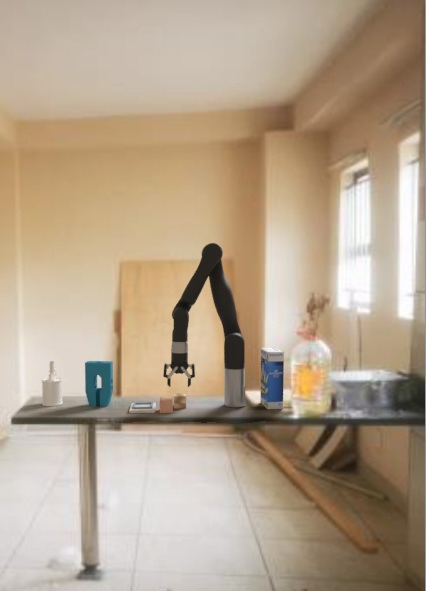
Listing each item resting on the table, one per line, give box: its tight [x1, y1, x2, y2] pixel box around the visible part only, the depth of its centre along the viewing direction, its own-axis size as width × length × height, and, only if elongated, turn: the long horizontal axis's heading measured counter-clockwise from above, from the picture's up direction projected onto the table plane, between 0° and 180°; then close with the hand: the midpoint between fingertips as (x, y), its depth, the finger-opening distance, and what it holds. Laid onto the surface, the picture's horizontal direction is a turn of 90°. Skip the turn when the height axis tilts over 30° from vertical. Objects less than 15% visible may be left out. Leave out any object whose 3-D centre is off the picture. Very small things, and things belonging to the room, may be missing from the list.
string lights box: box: [260, 347, 285, 410], centre depth 238 cm, size 13×8×26 cm, turn 10°
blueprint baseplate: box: [128, 401, 157, 414], centre depth 233 cm, size 11×13×2 cm
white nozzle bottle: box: [41, 360, 64, 408], centre depth 241 cm, size 10×9×20 cm
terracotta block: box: [159, 396, 174, 414], centre depth 229 cm, size 6×6×6 cm
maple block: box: [173, 393, 187, 409], centre depth 237 cm, size 6×6×6 cm
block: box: [84, 360, 114, 408], centre depth 239 cm, size 12×5×20 cm, turn 85°
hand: (179, 386), depth 237 cm, fingers open, 8 cm apart
